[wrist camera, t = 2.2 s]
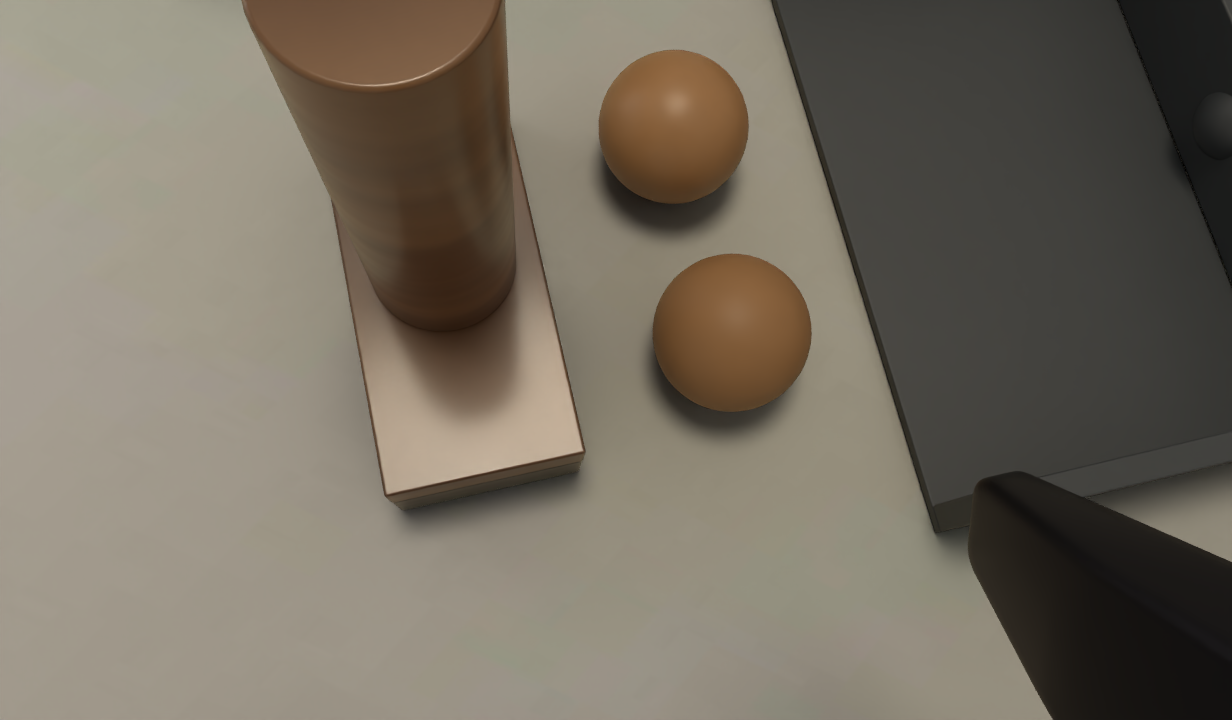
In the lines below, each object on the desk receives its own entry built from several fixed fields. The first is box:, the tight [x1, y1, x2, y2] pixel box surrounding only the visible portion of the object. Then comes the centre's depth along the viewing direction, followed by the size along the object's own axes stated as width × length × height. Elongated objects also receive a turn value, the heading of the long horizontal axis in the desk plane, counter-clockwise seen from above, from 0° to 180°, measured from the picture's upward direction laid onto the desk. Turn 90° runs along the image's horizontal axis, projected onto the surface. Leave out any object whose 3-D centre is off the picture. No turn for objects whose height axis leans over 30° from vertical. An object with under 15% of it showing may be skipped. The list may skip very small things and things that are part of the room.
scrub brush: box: [241, 0, 585, 510], centre depth 17 cm, size 9×4×12 cm, turn 13°
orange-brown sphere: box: [653, 254, 812, 412], centre depth 22 cm, size 3×3×3 cm
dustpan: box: [772, 0, 1232, 533], centre depth 24 cm, size 19×15×3 cm
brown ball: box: [599, 50, 749, 204], centre depth 23 cm, size 3×3×3 cm
